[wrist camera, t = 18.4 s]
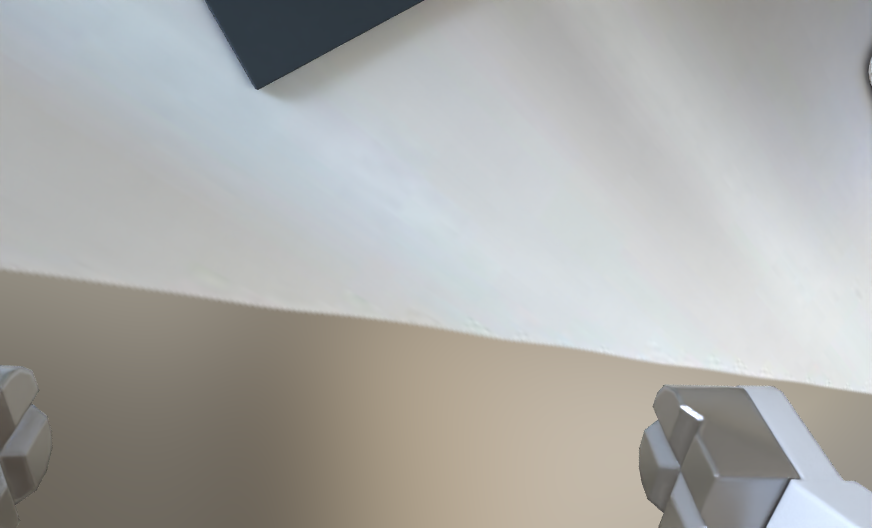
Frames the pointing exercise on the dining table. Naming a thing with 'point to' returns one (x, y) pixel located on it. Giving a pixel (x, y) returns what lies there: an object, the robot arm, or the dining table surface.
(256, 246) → the dining table surface
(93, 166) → the dining table surface
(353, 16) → the mat
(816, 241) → the dining table surface
